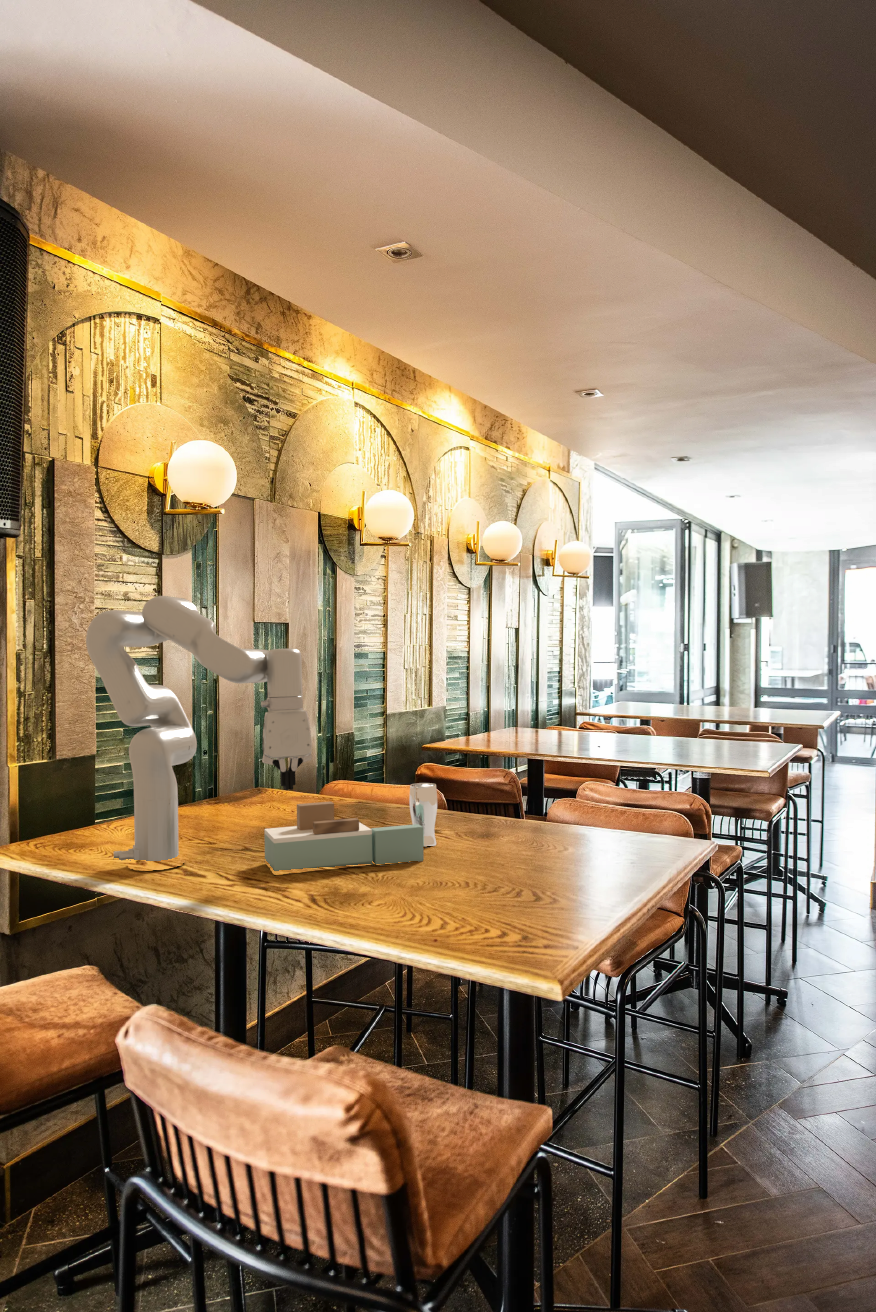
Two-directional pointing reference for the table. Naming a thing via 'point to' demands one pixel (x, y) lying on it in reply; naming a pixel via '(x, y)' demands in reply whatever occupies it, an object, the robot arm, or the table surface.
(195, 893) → the table surface
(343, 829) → the brown rectangular block
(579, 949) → the table surface
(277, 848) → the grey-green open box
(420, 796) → the beer glass
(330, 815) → the lid
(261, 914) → the table surface
